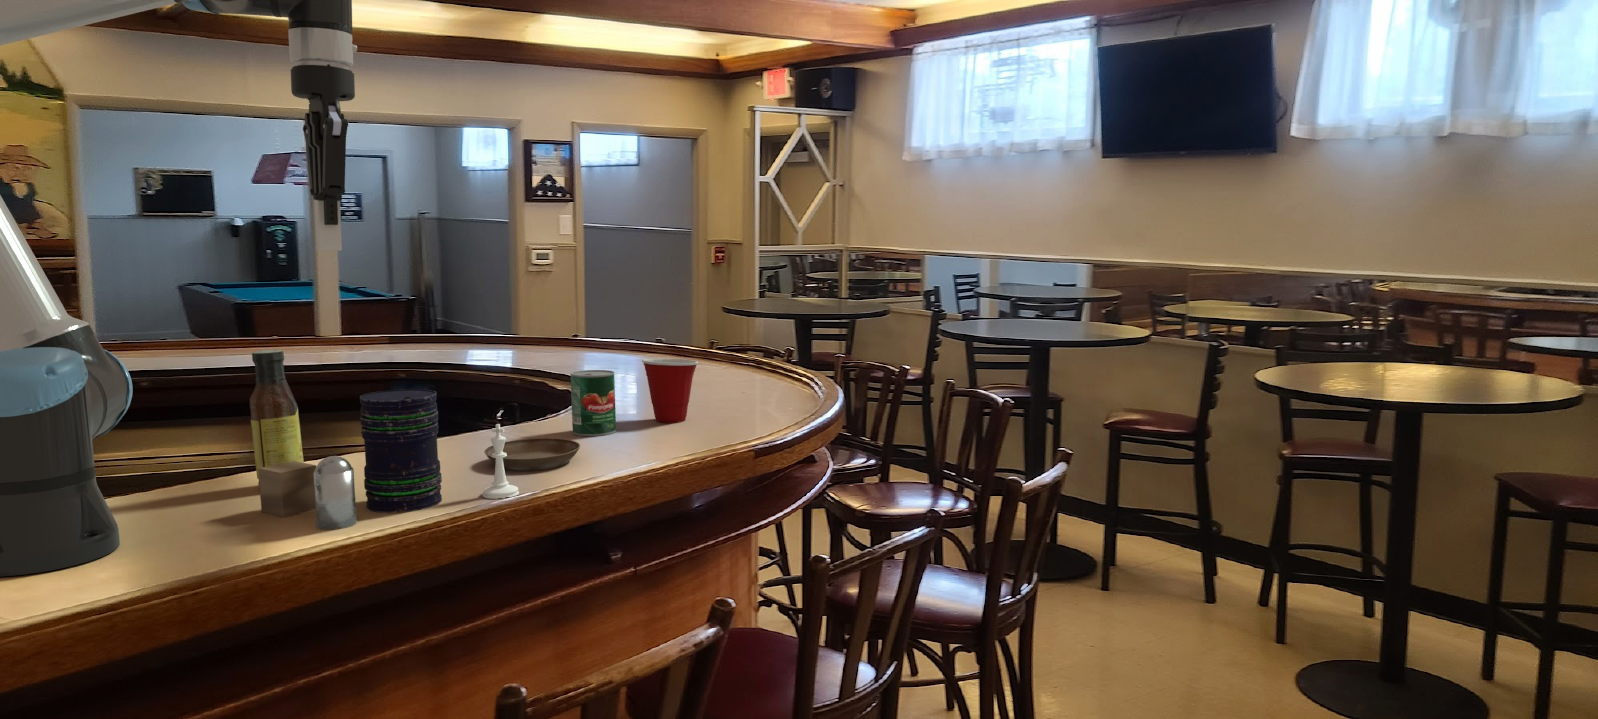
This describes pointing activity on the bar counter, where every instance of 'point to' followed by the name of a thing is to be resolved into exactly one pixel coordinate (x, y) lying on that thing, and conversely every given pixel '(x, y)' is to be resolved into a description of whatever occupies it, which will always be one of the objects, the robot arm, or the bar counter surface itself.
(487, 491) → the chess piece
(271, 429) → the sauce bottle
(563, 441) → the saucer
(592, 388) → the canned tomato
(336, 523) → the metal shaker
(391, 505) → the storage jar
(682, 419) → the plastic cup
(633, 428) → the bar counter surface
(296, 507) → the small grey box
